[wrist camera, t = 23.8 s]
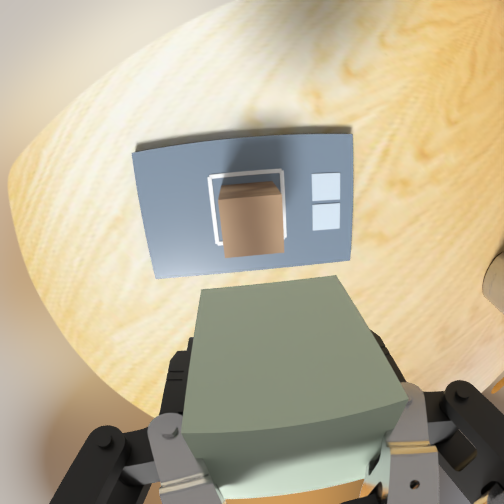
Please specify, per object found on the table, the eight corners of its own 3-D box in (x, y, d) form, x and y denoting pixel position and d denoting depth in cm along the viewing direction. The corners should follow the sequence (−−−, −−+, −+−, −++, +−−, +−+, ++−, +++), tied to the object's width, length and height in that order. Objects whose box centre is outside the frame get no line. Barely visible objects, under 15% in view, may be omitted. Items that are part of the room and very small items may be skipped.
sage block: (336, 275, 11) (408, 398, 5) (327, 367, 13) (365, 478, 7) (201, 289, 11) (180, 432, 5) (220, 380, 13) (220, 499, 7)
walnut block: (272, 181, 28) (281, 194, 23) (275, 228, 30) (284, 252, 25) (221, 185, 28) (218, 199, 23) (226, 233, 30) (224, 258, 25)
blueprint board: (348, 133, 28) (352, 134, 27) (347, 256, 33) (350, 260, 32) (134, 152, 27) (131, 153, 26) (157, 274, 33) (155, 279, 32)
